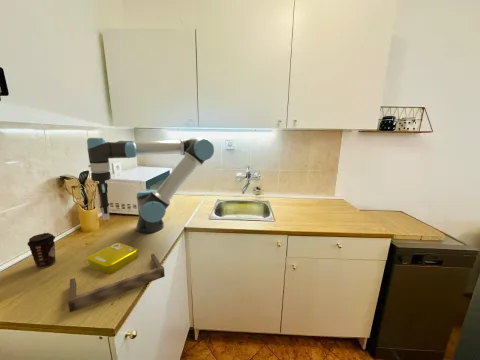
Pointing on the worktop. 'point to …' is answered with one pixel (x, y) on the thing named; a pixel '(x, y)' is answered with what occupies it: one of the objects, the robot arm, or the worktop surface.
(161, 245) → the worktop surface
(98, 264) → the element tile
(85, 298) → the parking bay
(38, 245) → the coffee cup
